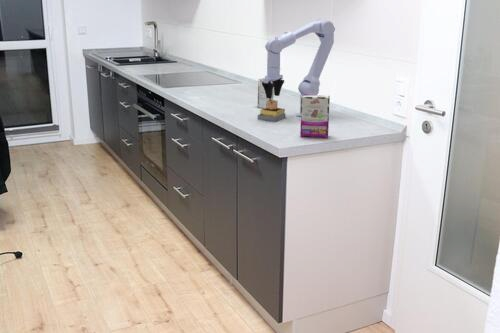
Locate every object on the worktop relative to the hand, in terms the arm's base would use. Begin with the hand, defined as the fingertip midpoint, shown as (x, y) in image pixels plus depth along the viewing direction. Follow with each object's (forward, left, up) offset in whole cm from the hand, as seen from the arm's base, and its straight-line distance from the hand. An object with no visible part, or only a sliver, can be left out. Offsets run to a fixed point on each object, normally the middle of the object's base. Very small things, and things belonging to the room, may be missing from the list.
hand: (272, 96), depth 255 cm
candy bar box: (-30, +20, -10) cm, 37 cm away
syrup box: (+15, -20, -10) cm, 27 cm away
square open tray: (0, +1, -10) cm, 10 cm away
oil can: (0, 0, -8) cm, 8 cm away
